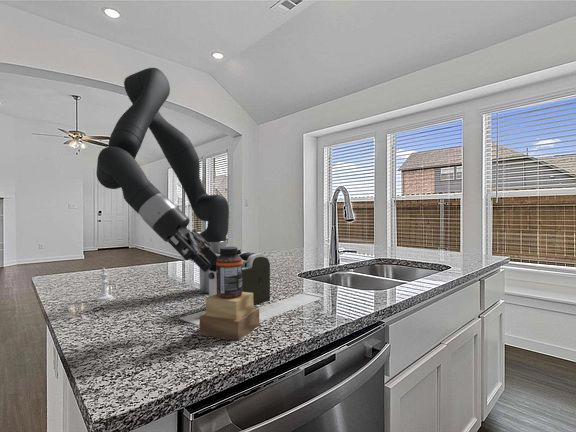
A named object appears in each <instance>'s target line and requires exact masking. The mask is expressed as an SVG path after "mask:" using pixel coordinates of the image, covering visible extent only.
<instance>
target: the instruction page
mask: <svg viewBox="0 0 576 432" xmlns="http://www.w3.org/2000/svg"><path fill="white" fill-rule="evenodd" d="M204 314H206V309H205V310H203V311H198V312H196V313H192V314H189V315H185V316H182V317H179V320H180V321H181V320H182V321H185V322H187V323H190V324H192V325H196V326H200V316H202V315H204Z"/></svg>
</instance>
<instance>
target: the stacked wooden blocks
mask: <svg viewBox="0 0 576 432" xmlns="http://www.w3.org/2000/svg"><path fill="white" fill-rule="evenodd" d="M258 308H259V307H255V306H254V300H253V293H249V292H242V295H240V296H239V297H236V298H220V297H218V296H217V294H215V295H212V296H210V297H209V296H208V297H206V298H205V310H206V314H204V315H202V316H200V325H199V335H203V336H208V337H215V338H222V339H228V340H229V339H230V340H233V341H234V340H235V341H240V340H242V338H244V337H245V336H246V335H247V334H249V333H251V332H252V331H254V330H255V329H256V328H257V327H259V326H260V320H259V309H258Z"/></svg>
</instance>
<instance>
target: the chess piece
mask: <svg viewBox="0 0 576 432" xmlns="http://www.w3.org/2000/svg"><path fill="white" fill-rule="evenodd" d="M100 272H102V273H101V274H100V278H101V281H100V282H99V283H100V284H102V285H101V291H100V292H101V293H100V294H99V295H98V296H96V297H95V301H96V302H107V301H111V300H113V299H114V295H112V294H109V293H108V289H107V284H106V283H108V282H109V281H108V280H107V277H108V273H106V272H107V269H106V268H105V267H102V269H101V270H100Z"/></svg>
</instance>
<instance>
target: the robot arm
mask: <svg viewBox="0 0 576 432" xmlns="http://www.w3.org/2000/svg"><path fill="white" fill-rule="evenodd" d="M123 87H124V89H125V93H126V94H127V97H128V99H129V101H130V102H131V105H130V106H129V107H128V109H127V110H125V112H124V113H123V114H122V115H121V116H120V117H119V118H118V120H117V122H116V124H115V126H114V128H113V130H112V132H111V134H110V137H109V139H108V140H109V141H108V144H107V146H106V147H104V148H102V149H101V150H100V152H99V154H98V157H97V161H96V162H97V166H96V178H97V180H98V182H99V184H100V185H101V186H103V187H104V188H107V189H110V190H117V189H120V188H121V190H122V197H123V199H124V201H125V202H126V203H127V204H128V205H129V206H130V208H132V209H133V211H135V212H136V213H137V214H138V215H139V216H140V217H141V219H142V220H143V222H144V223H146V225H148V226H149V227H150V228H151V229H152V230H153V231H154V232H155V233H156V235H158V237H160V238H161V239H162V240H163V241H164V242H165V243H169V245H171V246H172V247H173V249H175V251H176V252H178V254H179V255H180V256H181V257H182V258H184V260H185V261H188V260H189V261H190V262H193V263H194V264H195V265H196V266H197V267H199V292H201V293H206V294H207V293H208V294H209V277H208V275H209V269H210V268H211V266H212V264H213V265H214V266H215V265H216V259H217V258H218V256H217V255H216V253H220V248H221V247H227V236H228V233H229V222H230V221H229V217H230V210H229V209H230V207H229V202H228V200H227V199H226V197H225V196H223V195H221V194H208V193H207V191H206V189H205V188H204V185H203V184H202V182H201V175H200V172H201V171H200V170H201V169H200V168H201V164H200V158H199V156H198V153H197V151H196V148H195V147H194V144H192V142H191V140H190V139H189V137H188V136H187V135H185V133H184V132H183V131H181V130H179V129H178V128H176V127H175V125H172V124H171V123H170V122H168V121H167V120H166V119H165V118H164V117H163V116H162V114H161V113H160V110H161V107H162V106H163V105H164V104H165V102H166V101H167V100H168V97H169V96H170V93H171V92H170V91H171V85H170V82H169V80H168V78H167V76H166V75H165V74H164V72H163V71H162V70H160V69H159V68H156V67H148V68H145V69H142V70H140V71H138V72H135V73H133V74H130V75H127V77H125V79H124V81H123ZM148 129H149V130H150V132H151V133H152V136H153V137H154V139H155V140H156V142H157V144H158V145H159V147H160V149H161V151H162V153H163V155H164V157H165V159H166V160H167V162H168V164H169V165H170V168H171V169H172V171H173V172H174V174H175V176H176V177H177V179H178V182H179V183H180V186H181V187H182V189H183V190H184V192H185V196H186V197H187V199H188V202H189V204H190V206H191V208H192V211H193V213H194V215H195V216H196V217H197V218H198V219H199V220H200V221H202V222H207V227H206V228H205V229H204V230H203V231H201V232H200V233H199V231H197V230H196V229H193V230H190V229H189V228H188V225H189V224H190V222H191V221H190V218H189V217H188V216H187V215H186V214H185V213H184V212H183V211H182V210H181V209H180V208H179V207H178V206H177V205H176V204H175V203H174V202H173V201H172V200H170V198H168V197H167V196H166V195H164V194H163V193H162V192H161V190H159V189H158V188H157V187H156V186H155V185H154V184H152V182H150V181H149V178H148V177H147V175H146V173H145V172H144V170H142V168H141V166H140V165H139V164H138V163H139V162H138V161H136V157H137V154H138V153H139V151H140V149H141V148H142V147H141V146H142V144H143V142H144V139H145V137H146V134H147V132H148ZM209 261H210V262H211V263H212V264H211V263H210V262H209Z"/></svg>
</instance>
